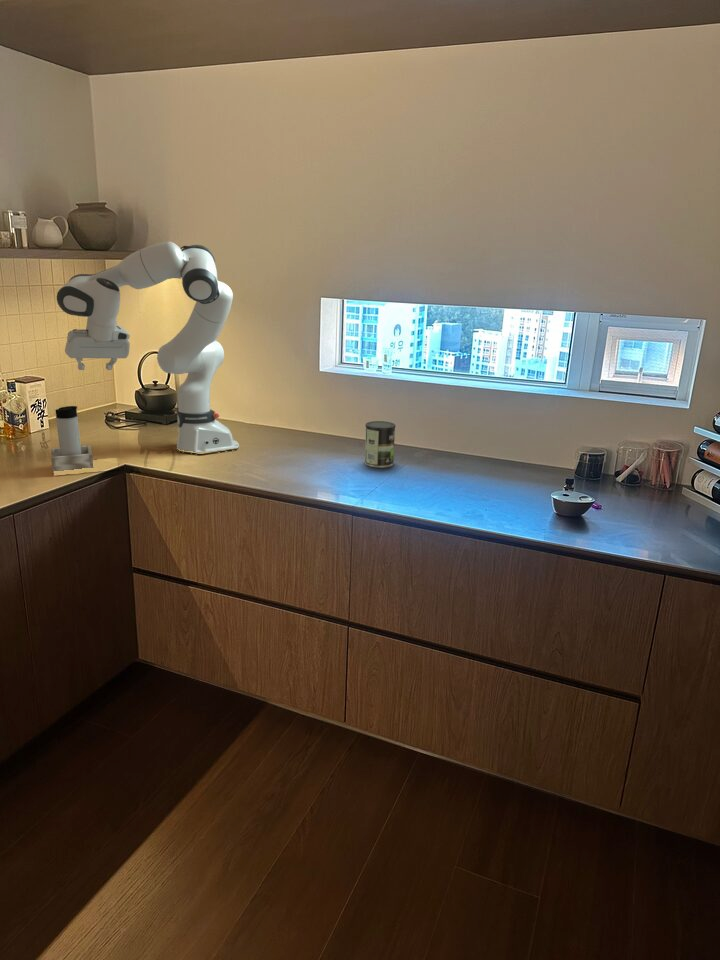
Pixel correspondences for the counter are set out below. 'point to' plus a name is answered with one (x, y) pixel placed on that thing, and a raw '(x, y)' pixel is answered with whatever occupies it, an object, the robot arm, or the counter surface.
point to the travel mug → (68, 431)
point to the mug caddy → (72, 460)
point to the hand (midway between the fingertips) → (95, 369)
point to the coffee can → (379, 444)
